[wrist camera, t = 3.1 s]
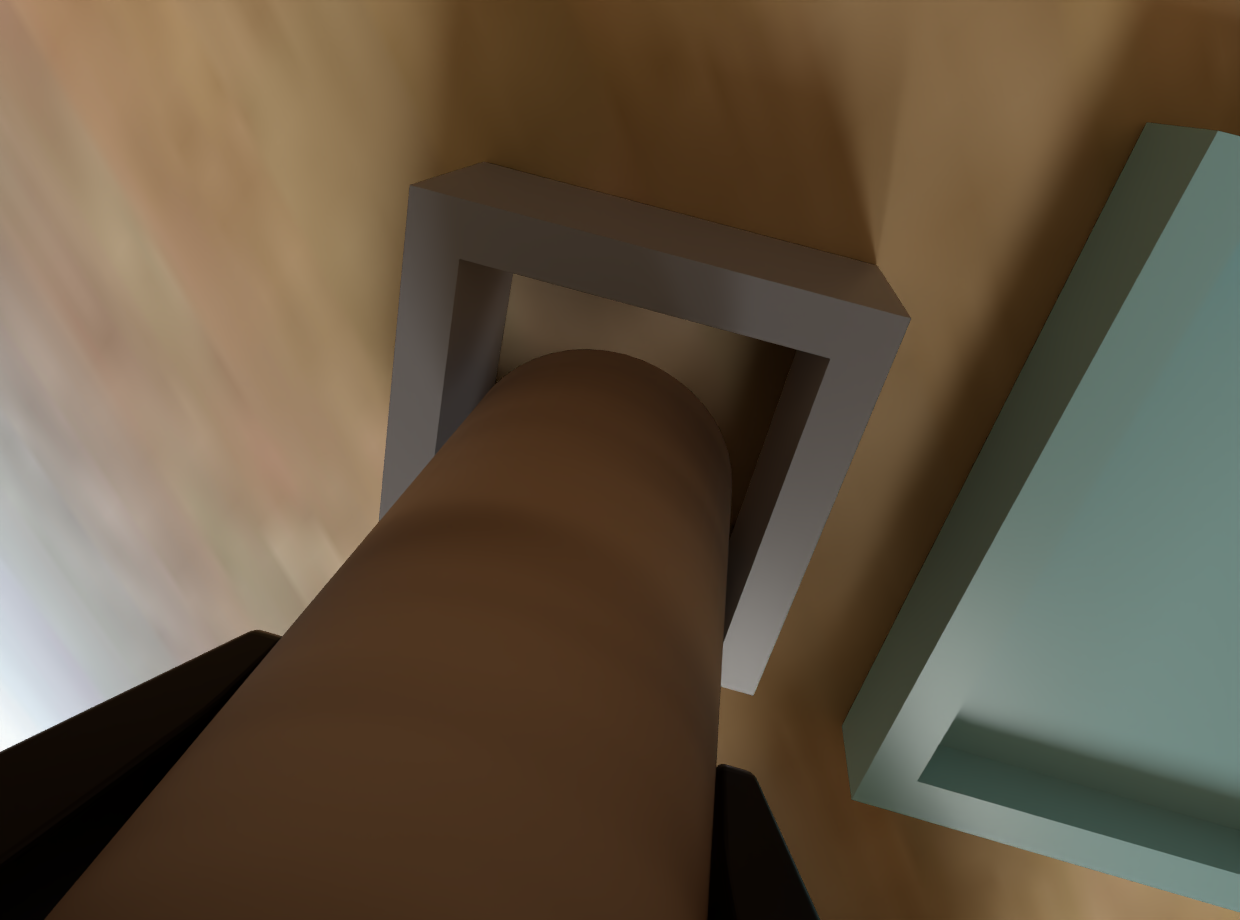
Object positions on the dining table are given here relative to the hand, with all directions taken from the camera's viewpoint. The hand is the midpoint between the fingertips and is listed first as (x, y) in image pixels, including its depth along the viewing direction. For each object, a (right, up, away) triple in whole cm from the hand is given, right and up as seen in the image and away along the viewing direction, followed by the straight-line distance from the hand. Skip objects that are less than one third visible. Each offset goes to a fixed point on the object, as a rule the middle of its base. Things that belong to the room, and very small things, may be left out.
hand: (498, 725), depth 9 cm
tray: (+16, +1, +9) cm, 18 cm away
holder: (+2, +5, +9) cm, 11 cm away
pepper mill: (+1, +3, +5) cm, 6 cm away
